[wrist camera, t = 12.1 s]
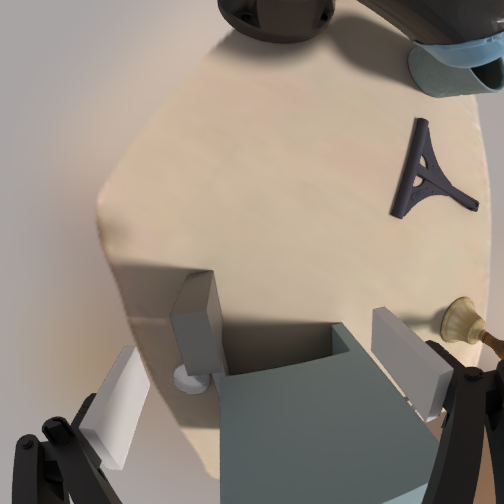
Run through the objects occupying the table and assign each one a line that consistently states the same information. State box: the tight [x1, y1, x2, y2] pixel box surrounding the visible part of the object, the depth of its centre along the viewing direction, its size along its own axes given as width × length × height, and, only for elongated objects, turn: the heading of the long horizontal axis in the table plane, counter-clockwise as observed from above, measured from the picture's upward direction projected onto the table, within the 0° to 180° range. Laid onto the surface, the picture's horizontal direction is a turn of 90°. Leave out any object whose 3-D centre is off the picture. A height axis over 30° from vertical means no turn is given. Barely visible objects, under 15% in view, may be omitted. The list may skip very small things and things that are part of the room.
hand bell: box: [441, 297, 504, 360], centre depth 32 cm, size 8×8×16 cm
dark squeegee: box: [392, 118, 479, 219], centre depth 34 cm, size 14×15×3 cm
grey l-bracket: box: [170, 271, 230, 400], centre depth 31 cm, size 20×3×12 cm, turn 9°
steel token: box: [173, 363, 210, 394], centre depth 37 cm, size 5×5×1 cm
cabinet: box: [220, 323, 440, 504], centre depth 26 cm, size 16×17×26 cm
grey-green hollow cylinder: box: [408, 45, 504, 98], centre depth 25 cm, size 10×10×12 cm
